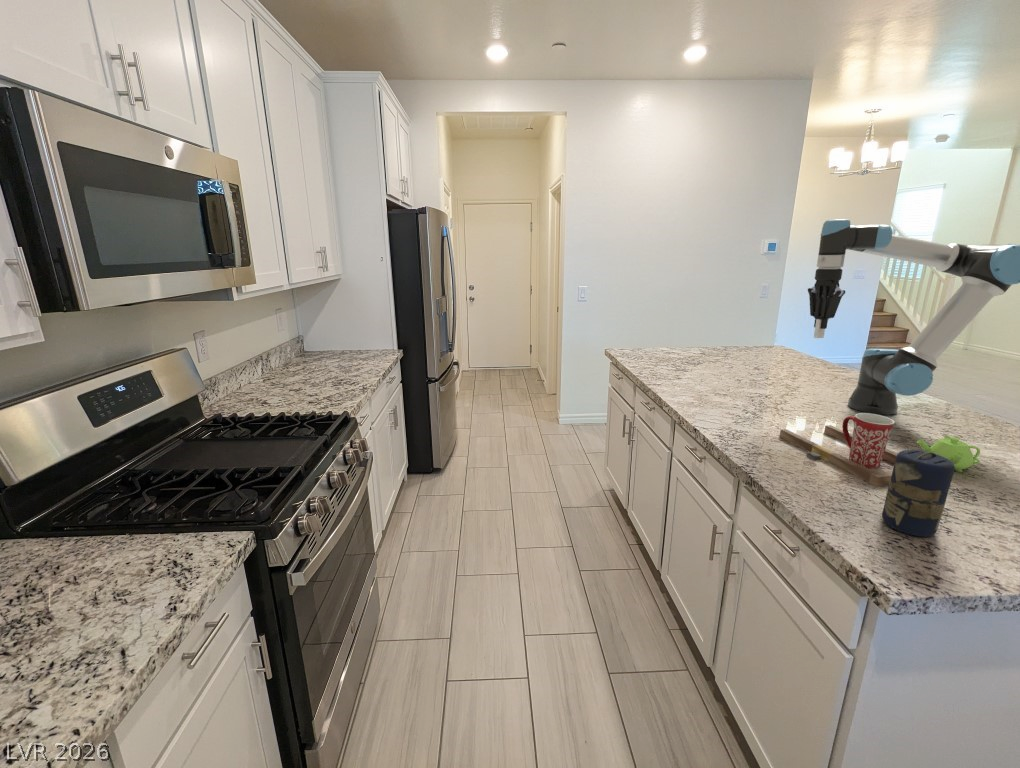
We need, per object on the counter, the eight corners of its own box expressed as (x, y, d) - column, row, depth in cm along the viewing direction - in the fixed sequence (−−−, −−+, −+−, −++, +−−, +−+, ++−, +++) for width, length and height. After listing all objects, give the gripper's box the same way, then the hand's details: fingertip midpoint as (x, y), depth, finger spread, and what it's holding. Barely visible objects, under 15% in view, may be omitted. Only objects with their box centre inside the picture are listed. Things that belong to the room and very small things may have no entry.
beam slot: (836, 431, 159) (838, 424, 158) (944, 477, 126) (947, 469, 126) (771, 437, 154) (772, 430, 153) (866, 487, 122) (868, 478, 121)
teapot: (986, 473, 129) (994, 444, 127) (953, 477, 127) (961, 448, 124) (941, 456, 140) (949, 429, 137) (910, 460, 137) (917, 432, 135)
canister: (869, 516, 109) (886, 443, 104) (908, 514, 109) (926, 442, 104) (906, 541, 99) (927, 463, 94) (948, 539, 100) (970, 460, 95)
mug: (892, 467, 132) (903, 422, 129) (866, 471, 130) (877, 425, 127) (851, 449, 144) (860, 407, 141) (827, 452, 142) (835, 410, 138)
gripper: (804, 267, 165) (794, 335, 171) (837, 269, 152) (825, 341, 159) (822, 267, 166) (812, 333, 173) (856, 268, 154) (844, 340, 160)
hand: (818, 337), depth 166 cm, fingers closed
